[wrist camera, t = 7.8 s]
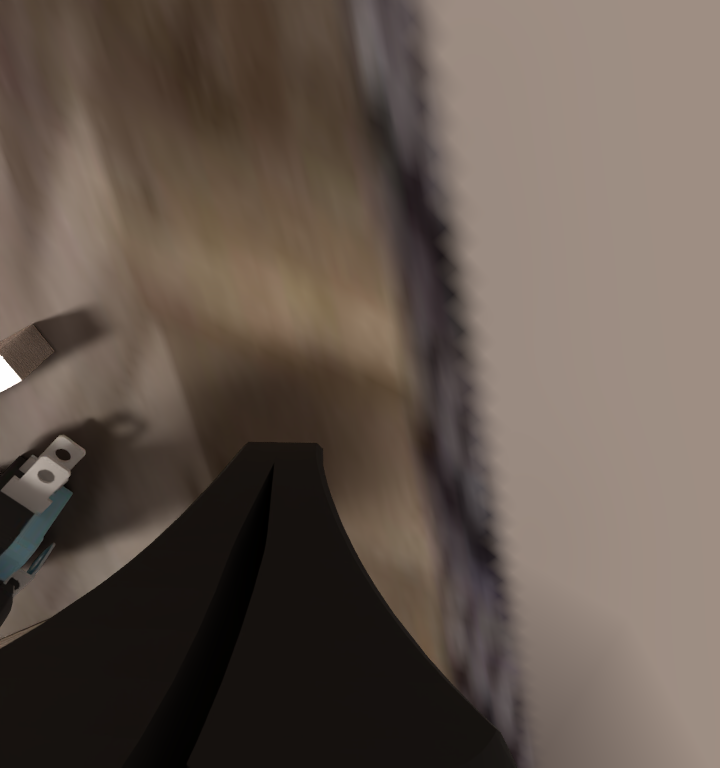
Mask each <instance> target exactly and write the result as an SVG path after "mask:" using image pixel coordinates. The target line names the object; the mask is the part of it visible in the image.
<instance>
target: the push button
mask: <svg viewBox="0 0 720 768" xmlns="http://www.w3.org/2000/svg"><path fill="white" fill-rule="evenodd" d="M57 449H65V450H66V451H68V452H69V453H70V455H71V458H70V460H67V461H64V460H61V459H59V458H58V457H57V456H56V452H55V451H56V450H57ZM85 454H86V451H85V449H83V448H82V447H81V446H79V445H78V444H76V443H75V442H74V441H72V440H71V439H70V438H68V437H67V436H65V435H59V436H58V437H57V438H56V439H55V440H54V441H53V443H52V444H51V445H50V446H49V447H48V448H47V449H46V450H45V451H44V452H43V453H42V454H41V455H40V456H39V457H38V458H37V457H36V456H34V455H32V456H31V457H30V458H29V459H28V460H27V461H26V460H25V459H23V458H22V457H21V456H19V457H18V458H17V459H16V460H15V461H14V462H13V463H12V464H11V465H10V466H9V468H8V469H7V470H6V471H5V472H4V473H3V474H2V475H1V476H0V627H1V625H2V624H3V622H4V621H5V619H6V618H7V616H8V614H9V612H10V610H11V607H12V602H13V597H14V596H15V595H16V594H18V593H19V592H20V591H21V590H22V589H23V588H24V587H25V586H26V585H27V584H28V583H29V582H30V581H31V580H32V579H33V578H34V577H35V574H36V573H37V572H38V571H39V570H40V568H41V567H42V565H43V564H44V562H45V561H46V559H47V558H48V556H49V554H50V553H51V551H52V550H53V548H54V547H55V545H56V544H55V543H52V544H51V545H50V546H49V547H48V548H46V549H45V550H44V551H43V552H42V553H41V554H40V555H39V556H38V557H37V559H36V560H35V561H34V562H33V563H32V565H31V566H30V568H29V569H28V571H27V572H25V571H24V570H22V569H20V568H21V567H22V566H23V565H24V564H25V563H26V562H27V561H28V559H29V558H30V557H31V556H32V555H33V553H34V552H35V551H36V549H37V548H38V547H39V545H40V544H41V542H42V541H43V539H44V538H43V537H44V535H45V534H46V532H47V531H48V529H49V528H50V527H51V525H52V524H53V522H54V521H55V519H56V518H57V516H58V515H59V513H60V512H61V510H62V509H63V508H64V506H65V505H66V503H67V502H68V500H69V499H70V497H71V496H72V494H73V493H72V492H71V491H69V490H68V489H67V488H65V487H64V486H63V485H64V484H65V483H66V482H67V481H68V480H69V479H68V477H69V476H70V475H71V472H70V470H71V469H72V468H73V467H74V466H75V465H76V464H77V463H78V462H79V461H80V460H81V459H82V458H83V457H84V456H85Z"/></svg>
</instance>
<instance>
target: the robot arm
mask: <svg viewBox="0 0 720 768" xmlns="http://www.w3.org/2000/svg"><path fill="white" fill-rule="evenodd" d="M0 768H517V766H516V764H515V762H514V759H513V757H512V755H511V753H510V751H509V749H508V747H507V745H506V742H505V740H504V738H503V736H502V734H501V732H500V731H499V730H498V729H496V728H495V727H494V726H493V725H492V724H491V723H490V722H489V721H488V720H487V719H486V718H485V717H484V716H483V715H482V714H481V713H480V712H479V711H478V710H477V709H476V708H475V707H474V706H473V705H472V704H471V703H470V702H469V701H468V700H467V699H466V698H465V697H464V696H463V695H462V694H461V693H460V692H459V691H458V690H457V689H456V688H455V687H454V686H453V685H452V684H451V682H450V681H449V680H448V679H447V678H446V677H445V676H444V675H443V673H442V672H441V671H440V670H439V669H438V668H437V667H436V666H435V664H434V663H433V662H432V661H431V660H430V659H429V658H428V657H427V655H426V654H425V653H424V652H423V650H422V649H421V648H420V646H419V645H418V644H417V643H416V641H415V640H414V639H413V637H412V636H411V635H410V634H409V632H408V631H407V630H406V629H405V627H404V626H403V625H402V623H401V622H400V621H399V620H398V618H397V617H396V616H395V614H394V613H393V612H392V610H391V609H390V607H389V606H388V604H387V603H386V601H385V600H384V598H383V597H382V595H381V594H380V592H379V591H378V589H377V588H376V586H375V585H374V583H373V581H372V580H371V578H370V576H369V575H368V573H367V571H366V570H365V568H364V566H363V564H362V563H361V561H360V559H359V557H358V555H357V553H356V552H355V550H354V548H353V546H352V544H351V541H350V539H349V537H348V535H347V533H346V531H345V529H344V527H343V524H342V522H341V520H340V517H339V515H338V512H337V510H336V507H335V504H334V502H333V499H332V497H331V494H330V491H329V488H328V484H327V480H326V476H325V472H324V467H323V449H322V448H321V447H320V446H319V445H318V444H317V443H277V442H248V443H247V444H246V445H245V446H244V447H243V448H242V449H241V450H240V451H239V452H238V453H237V455H236V456H235V457H234V458H233V459H232V460H231V462H230V463H229V464H228V465H227V466H226V467H225V469H224V470H223V471H222V472H221V473H220V474H219V475H218V477H217V478H216V479H215V480H214V481H213V482H212V483H211V484H210V486H209V487H208V488H207V489H206V490H205V491H204V492H203V493H202V494H201V495H200V496H199V497H198V498H197V499H196V500H195V501H194V502H193V503H192V505H191V506H190V507H189V508H188V509H187V510H186V511H185V512H184V513H183V514H182V515H181V516H180V517H179V518H178V519H177V520H175V521H174V522H173V523H172V524H171V525H170V526H169V527H168V528H167V529H166V530H165V531H164V532H163V533H162V534H161V535H160V536H158V537H157V538H156V539H155V540H154V541H153V542H152V543H151V544H150V545H149V546H148V547H146V548H145V549H144V550H143V551H142V552H141V553H139V554H138V555H137V556H136V557H135V558H134V559H132V560H131V561H130V562H129V563H128V564H126V565H125V566H124V567H122V568H121V569H120V570H119V571H117V572H116V573H115V574H113V575H112V576H111V577H110V578H108V579H107V580H106V581H104V582H103V583H101V584H100V585H99V586H97V587H96V588H94V589H93V590H91V591H90V592H89V593H87V594H86V595H84V596H83V597H81V598H80V599H78V600H77V601H75V602H74V603H72V604H71V605H69V606H68V607H66V608H65V609H63V610H62V611H60V612H59V613H57V614H56V615H54V616H53V617H51V618H50V619H48V620H47V621H45V622H44V623H42V624H41V625H39V626H37V627H36V628H34V629H32V630H31V631H29V632H27V633H26V634H24V635H22V636H21V637H19V638H17V639H16V640H14V641H12V642H11V643H9V644H7V645H6V646H4V647H2V648H0Z"/></svg>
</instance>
